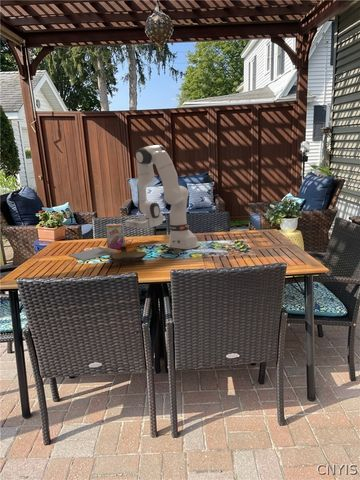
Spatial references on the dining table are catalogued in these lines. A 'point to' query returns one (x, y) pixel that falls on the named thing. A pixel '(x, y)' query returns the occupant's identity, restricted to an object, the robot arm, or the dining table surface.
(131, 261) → the oil lamp
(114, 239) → the candy bar box
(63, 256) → the dining table surface
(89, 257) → the grey mat
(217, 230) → the dining table surface
